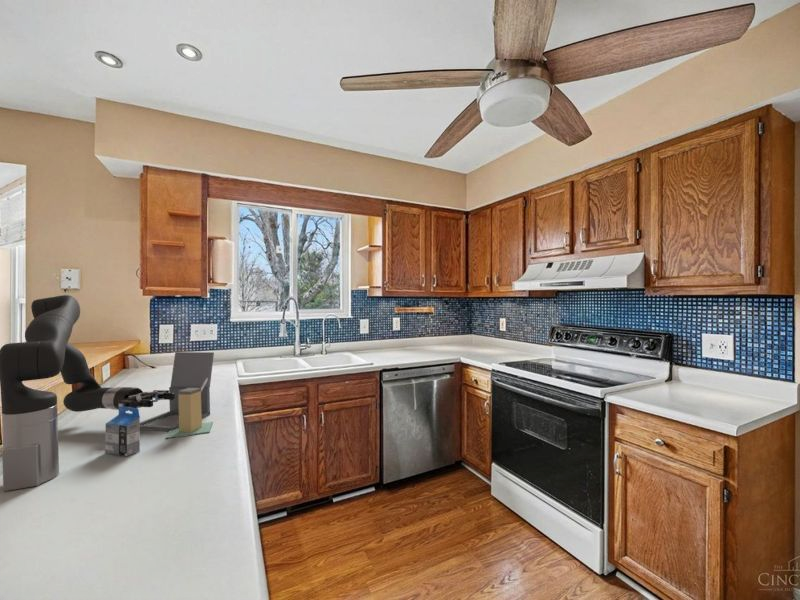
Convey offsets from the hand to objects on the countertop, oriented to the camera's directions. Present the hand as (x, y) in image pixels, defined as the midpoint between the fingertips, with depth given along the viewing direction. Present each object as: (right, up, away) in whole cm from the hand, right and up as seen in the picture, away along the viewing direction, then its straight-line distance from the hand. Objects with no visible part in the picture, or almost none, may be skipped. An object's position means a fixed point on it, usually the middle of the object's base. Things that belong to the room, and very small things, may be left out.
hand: (163, 399), depth 118 cm
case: (-2, -10, +9) cm, 13 cm away
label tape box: (0, -10, -18) cm, 20 cm away
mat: (+10, -10, -2) cm, 14 cm away
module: (+10, -9, -2) cm, 14 cm away
